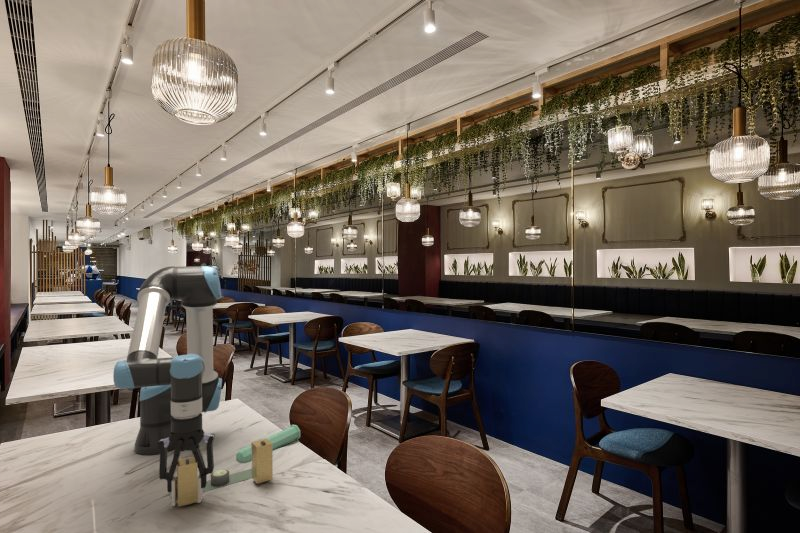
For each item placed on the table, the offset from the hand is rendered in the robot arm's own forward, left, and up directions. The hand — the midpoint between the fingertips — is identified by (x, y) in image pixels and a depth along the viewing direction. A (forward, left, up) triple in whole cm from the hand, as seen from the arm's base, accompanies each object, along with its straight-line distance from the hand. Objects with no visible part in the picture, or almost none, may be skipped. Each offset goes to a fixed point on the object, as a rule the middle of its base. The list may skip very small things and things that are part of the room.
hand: (187, 501), depth 117 cm
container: (-22, +30, -2) cm, 37 cm away
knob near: (0, 0, -1) cm, 1 cm away
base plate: (-4, +10, -2) cm, 11 cm away
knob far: (0, +20, -1) cm, 20 cm away
